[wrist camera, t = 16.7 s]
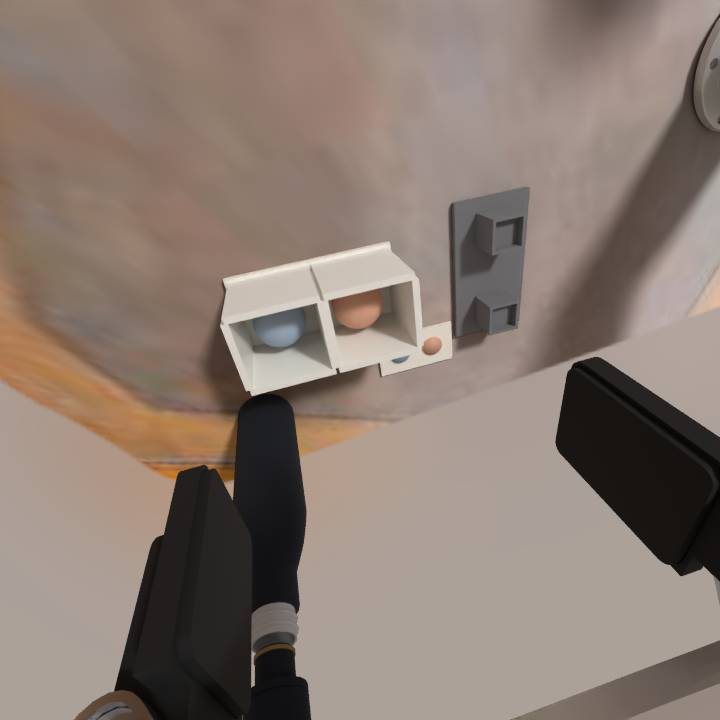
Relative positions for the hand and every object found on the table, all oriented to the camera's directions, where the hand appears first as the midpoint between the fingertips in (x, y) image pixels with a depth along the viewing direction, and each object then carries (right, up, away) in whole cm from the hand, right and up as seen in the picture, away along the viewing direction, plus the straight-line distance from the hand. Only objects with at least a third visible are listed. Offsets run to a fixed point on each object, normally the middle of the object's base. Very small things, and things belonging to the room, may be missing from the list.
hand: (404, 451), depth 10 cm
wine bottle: (-12, -4, +36) cm, 38 cm away
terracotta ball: (-2, +9, +29) cm, 31 cm away
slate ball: (-9, +7, +29) cm, 31 cm away
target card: (+5, +4, +36) cm, 36 cm away
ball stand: (+13, +13, +32) cm, 37 cm away
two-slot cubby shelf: (-6, +9, +30) cm, 31 cm away
